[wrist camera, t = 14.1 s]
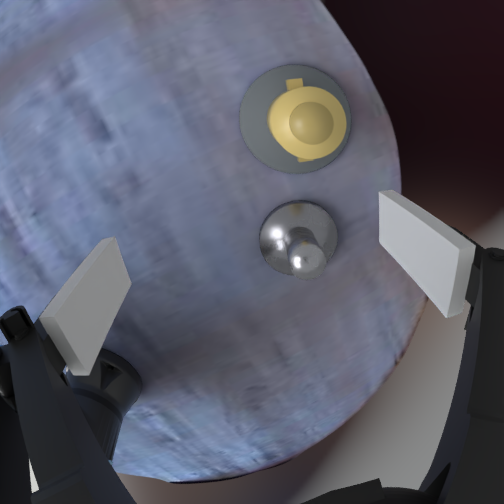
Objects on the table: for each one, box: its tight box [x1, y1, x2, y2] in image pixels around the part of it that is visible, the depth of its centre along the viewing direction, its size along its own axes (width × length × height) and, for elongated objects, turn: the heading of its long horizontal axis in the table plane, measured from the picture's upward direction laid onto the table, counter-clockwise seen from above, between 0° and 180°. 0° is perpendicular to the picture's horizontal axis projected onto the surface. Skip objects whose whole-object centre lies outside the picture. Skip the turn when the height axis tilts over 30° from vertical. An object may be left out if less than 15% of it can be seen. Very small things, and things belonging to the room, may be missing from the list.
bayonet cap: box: [267, 78, 346, 162], centre depth 30 cm, size 7×9×8 cm
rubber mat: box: [239, 65, 351, 174], centre depth 33 cm, size 13×13×1 cm
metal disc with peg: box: [259, 200, 338, 280], centre depth 37 cm, size 10×10×7 cm
